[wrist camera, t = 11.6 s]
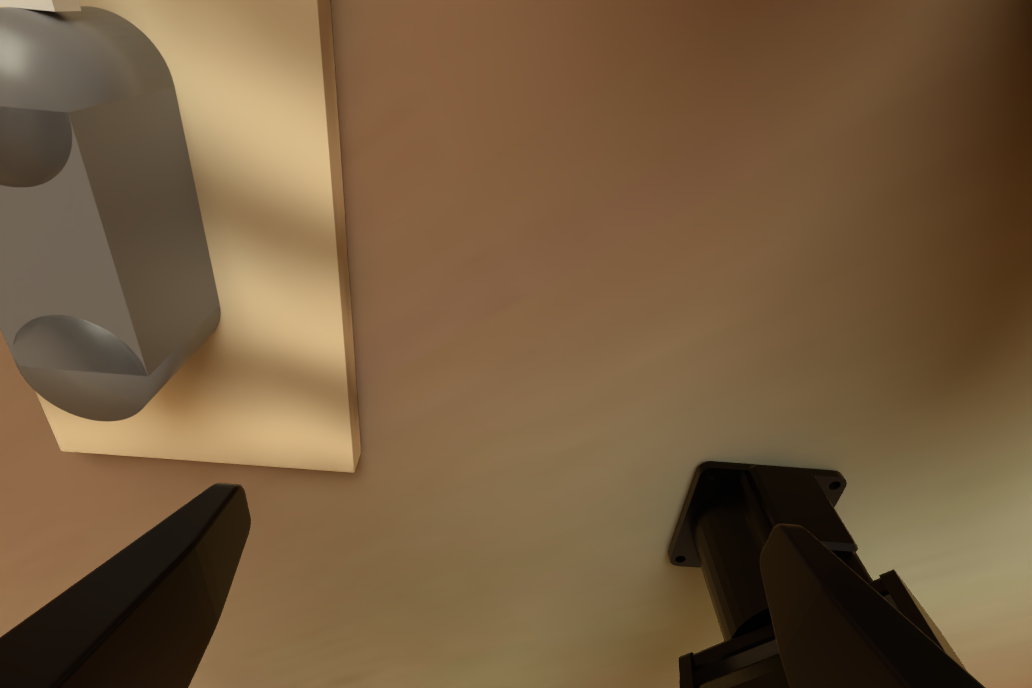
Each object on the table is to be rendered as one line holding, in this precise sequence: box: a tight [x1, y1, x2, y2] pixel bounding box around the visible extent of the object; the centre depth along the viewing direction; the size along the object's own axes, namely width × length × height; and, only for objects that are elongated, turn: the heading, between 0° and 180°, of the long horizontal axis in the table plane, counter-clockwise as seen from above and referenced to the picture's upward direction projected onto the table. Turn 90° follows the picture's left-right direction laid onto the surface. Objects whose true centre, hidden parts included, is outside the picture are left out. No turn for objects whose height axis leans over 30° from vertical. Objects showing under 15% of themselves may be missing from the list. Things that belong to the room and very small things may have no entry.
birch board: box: [0, 0, 361, 473], centre depth 18 cm, size 22×12×1 cm, turn 175°
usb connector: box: [0, 0, 221, 422], centre depth 15 cm, size 13×4×4 cm, turn 175°
